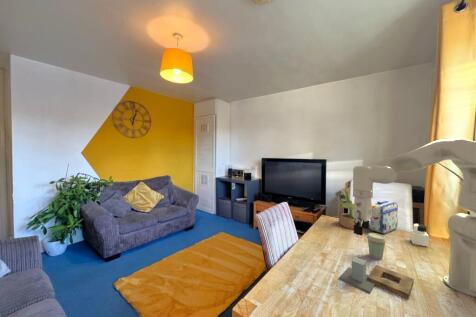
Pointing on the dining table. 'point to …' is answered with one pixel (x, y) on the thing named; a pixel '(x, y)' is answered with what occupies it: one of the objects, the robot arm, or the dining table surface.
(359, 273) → the slate block
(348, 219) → the potted plant
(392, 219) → the lunch box
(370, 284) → the coaster
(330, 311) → the dining table surface
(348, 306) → the dining table surface
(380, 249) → the coffee cup
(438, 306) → the dining table surface
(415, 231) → the salt and pepper set
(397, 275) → the board
